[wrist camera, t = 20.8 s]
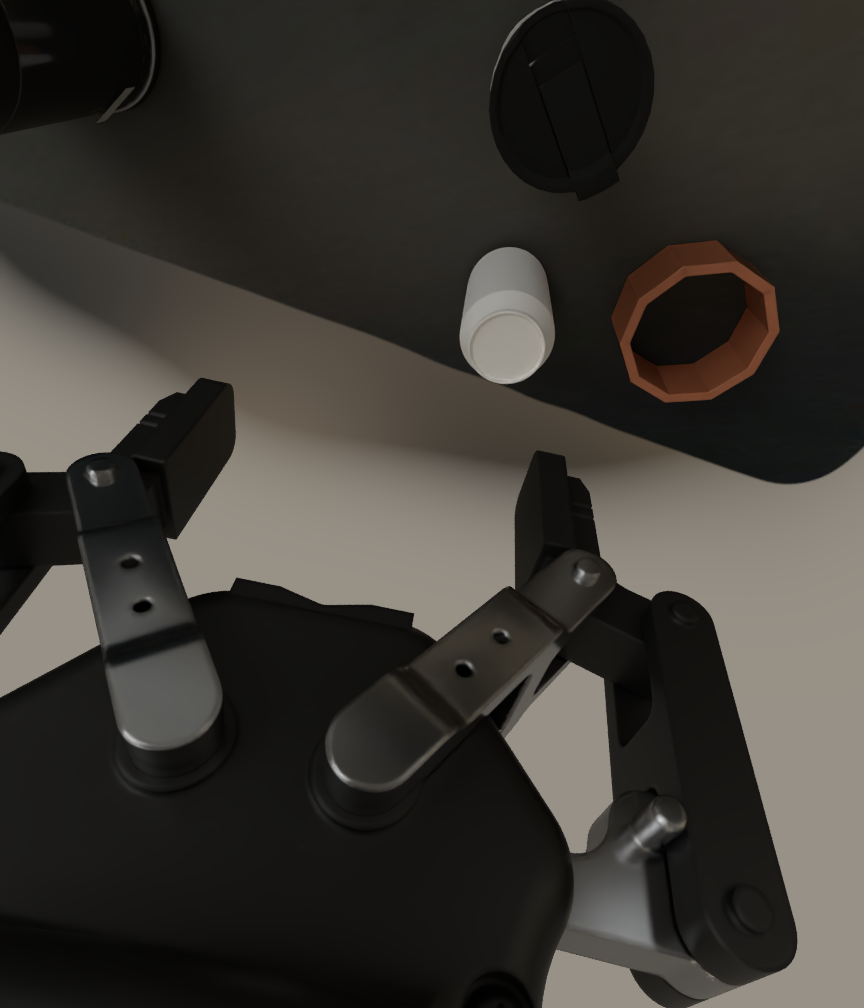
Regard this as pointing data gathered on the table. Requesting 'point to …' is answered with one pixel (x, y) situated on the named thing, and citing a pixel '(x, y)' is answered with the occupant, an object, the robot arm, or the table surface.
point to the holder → (723, 362)
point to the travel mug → (571, 95)
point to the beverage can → (507, 316)
